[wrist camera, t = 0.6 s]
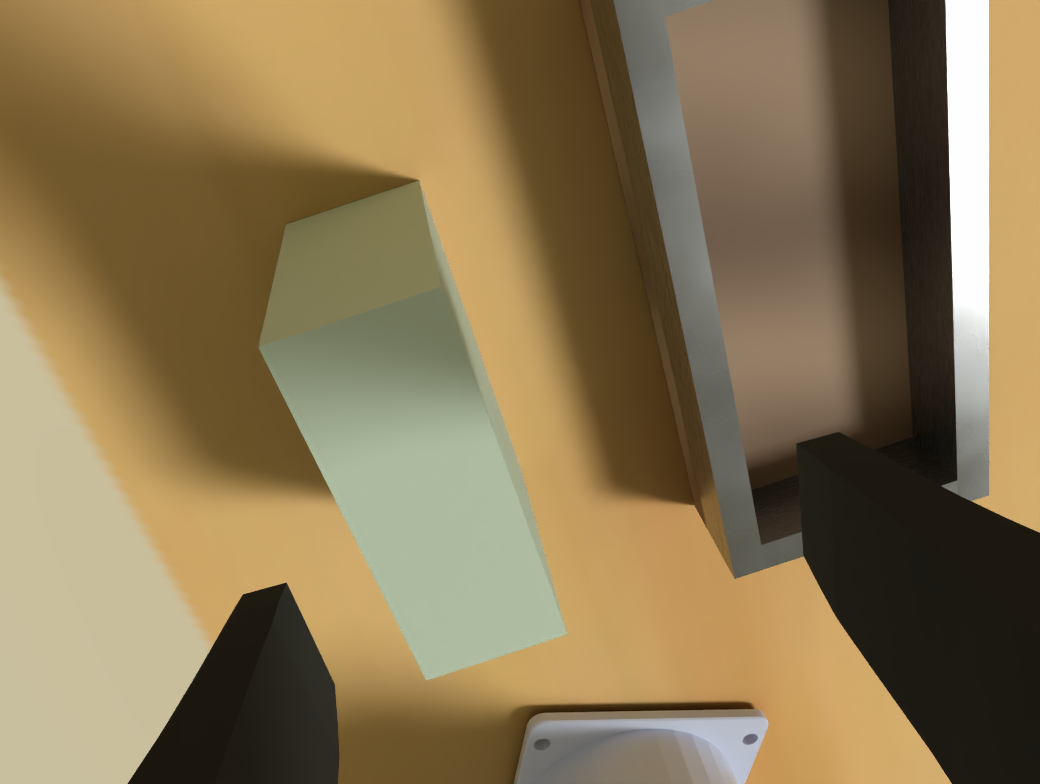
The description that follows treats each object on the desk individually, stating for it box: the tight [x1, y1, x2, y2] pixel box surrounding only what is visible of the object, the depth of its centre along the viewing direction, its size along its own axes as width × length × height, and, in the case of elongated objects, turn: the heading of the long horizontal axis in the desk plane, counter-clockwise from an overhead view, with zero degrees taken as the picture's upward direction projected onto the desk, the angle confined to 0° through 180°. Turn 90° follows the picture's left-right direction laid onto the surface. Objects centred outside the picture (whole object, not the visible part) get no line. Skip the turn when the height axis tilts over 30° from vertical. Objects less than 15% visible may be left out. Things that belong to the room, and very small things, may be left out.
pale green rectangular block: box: [258, 180, 567, 681], centre depth 18 cm, size 8×3×6 cm, turn 16°
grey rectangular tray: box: [579, 0, 989, 579], centre depth 19 cm, size 14×7×3 cm, turn 16°
